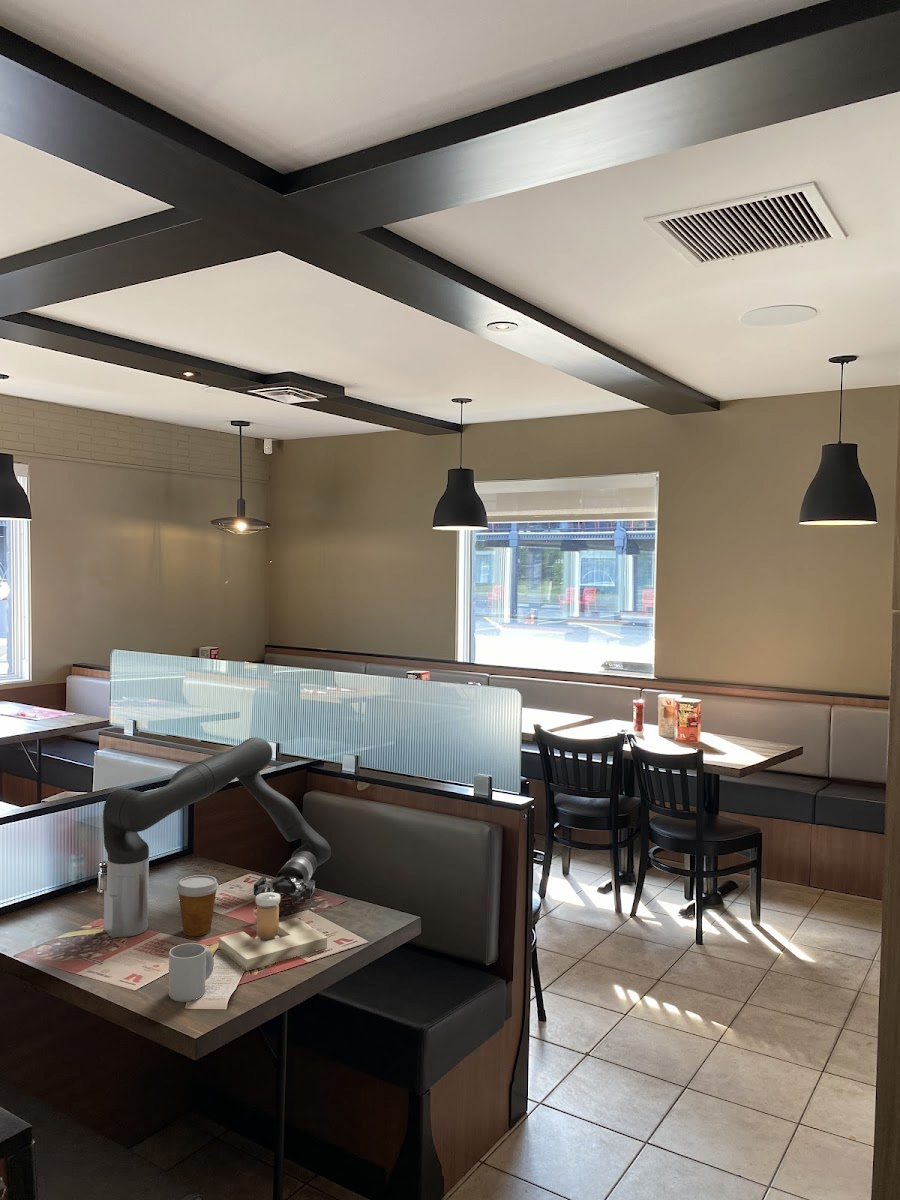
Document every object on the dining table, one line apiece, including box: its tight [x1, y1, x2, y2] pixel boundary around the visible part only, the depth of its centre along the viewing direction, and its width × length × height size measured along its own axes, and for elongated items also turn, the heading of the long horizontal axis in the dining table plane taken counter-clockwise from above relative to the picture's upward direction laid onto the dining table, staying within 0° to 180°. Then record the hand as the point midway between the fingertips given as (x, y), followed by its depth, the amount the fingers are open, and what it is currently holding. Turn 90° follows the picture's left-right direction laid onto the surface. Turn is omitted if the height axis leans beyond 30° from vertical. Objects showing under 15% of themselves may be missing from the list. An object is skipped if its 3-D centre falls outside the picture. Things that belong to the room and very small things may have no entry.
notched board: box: [218, 917, 328, 972], centre depth 206 cm, size 20×14×2 cm
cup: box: [168, 942, 215, 1003], centre depth 185 cm, size 7×10×9 cm
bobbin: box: [254, 891, 281, 943], centre depth 209 cm, size 6×6×11 cm
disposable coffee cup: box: [176, 874, 219, 937], centre depth 215 cm, size 10×10×12 cm
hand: (275, 898), depth 215 cm, fingers open, 8 cm apart
